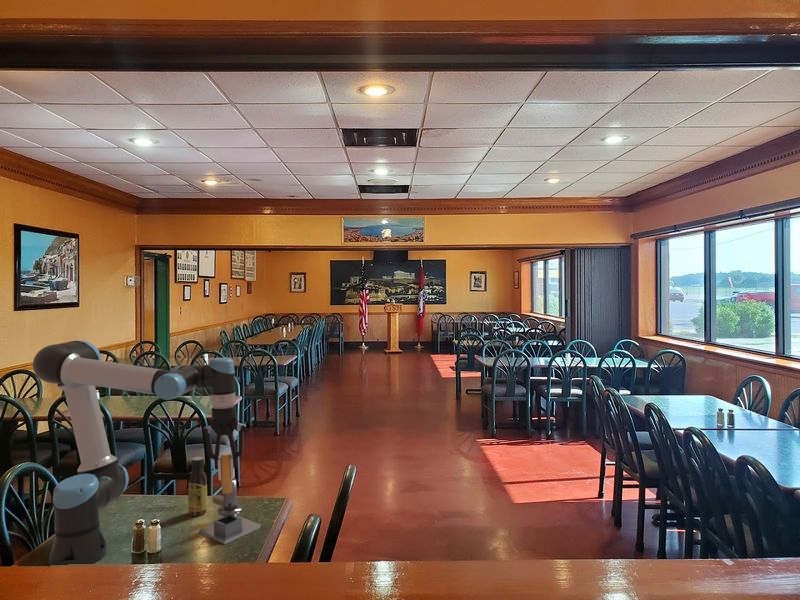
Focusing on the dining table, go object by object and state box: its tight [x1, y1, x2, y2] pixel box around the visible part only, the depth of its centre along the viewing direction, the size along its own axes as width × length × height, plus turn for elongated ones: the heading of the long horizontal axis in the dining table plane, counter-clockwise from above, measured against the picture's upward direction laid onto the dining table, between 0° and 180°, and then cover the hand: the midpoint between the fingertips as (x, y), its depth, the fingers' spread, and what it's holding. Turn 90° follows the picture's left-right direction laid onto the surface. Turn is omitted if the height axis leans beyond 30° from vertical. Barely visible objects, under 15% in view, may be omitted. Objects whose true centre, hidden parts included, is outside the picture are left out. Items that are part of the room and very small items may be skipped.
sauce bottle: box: [187, 456, 208, 517], centre depth 194 cm, size 7×6×20 cm
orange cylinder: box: [220, 453, 232, 495], centre depth 176 cm, size 3×3×12 cm
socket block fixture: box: [198, 477, 262, 545], centre depth 182 cm, size 19×14×15 cm
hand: (226, 478), depth 177 cm, fingers closed on orange cylinder, 3 cm apart
